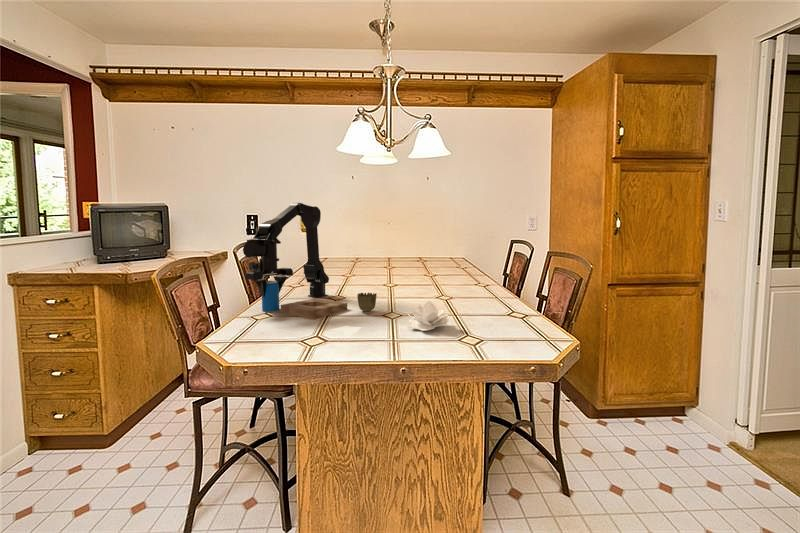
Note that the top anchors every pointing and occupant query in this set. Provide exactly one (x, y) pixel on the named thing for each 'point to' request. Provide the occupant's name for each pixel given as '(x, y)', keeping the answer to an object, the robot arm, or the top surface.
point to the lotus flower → (427, 317)
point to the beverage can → (271, 297)
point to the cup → (366, 302)
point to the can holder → (313, 308)
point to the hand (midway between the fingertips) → (270, 295)
